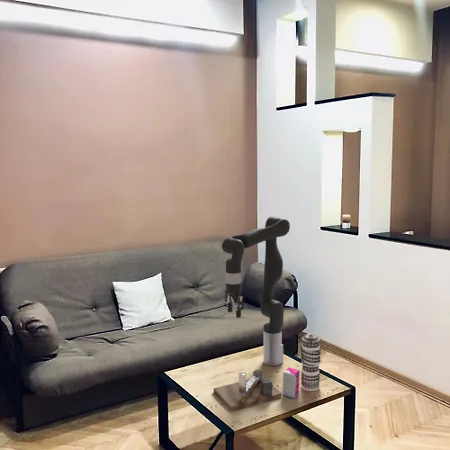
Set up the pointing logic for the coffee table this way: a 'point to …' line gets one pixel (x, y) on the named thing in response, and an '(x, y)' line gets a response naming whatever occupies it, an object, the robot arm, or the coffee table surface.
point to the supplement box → (291, 383)
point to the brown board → (255, 396)
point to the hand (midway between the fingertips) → (234, 314)
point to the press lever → (249, 382)
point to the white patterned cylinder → (310, 362)
